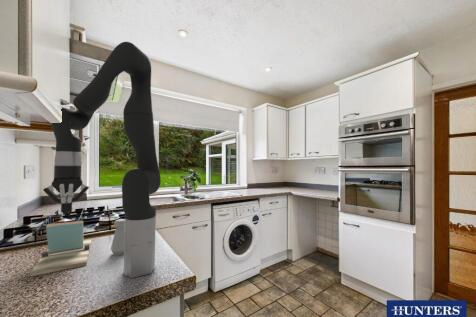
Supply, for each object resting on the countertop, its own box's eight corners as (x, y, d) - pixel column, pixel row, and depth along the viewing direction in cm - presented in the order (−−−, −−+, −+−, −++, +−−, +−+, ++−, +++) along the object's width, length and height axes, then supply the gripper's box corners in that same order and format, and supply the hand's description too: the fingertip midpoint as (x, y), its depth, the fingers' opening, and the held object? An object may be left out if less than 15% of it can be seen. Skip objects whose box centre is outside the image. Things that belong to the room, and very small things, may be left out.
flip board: (86, 265, 70) (86, 256, 70) (29, 276, 63) (30, 267, 63) (91, 241, 92) (92, 235, 92) (50, 247, 85) (50, 240, 85)
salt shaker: (120, 257, 76) (121, 222, 77) (107, 255, 77) (108, 221, 78) (131, 251, 82) (132, 218, 82) (118, 249, 83) (119, 217, 84)
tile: (83, 247, 81) (83, 249, 80) (49, 252, 75) (48, 255, 74) (83, 220, 76) (82, 222, 75) (46, 224, 71) (46, 227, 70)
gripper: (40, 164, 67) (37, 218, 66) (89, 164, 74) (88, 213, 73) (46, 164, 73) (44, 213, 72) (91, 164, 80) (90, 209, 79)
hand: (66, 213), depth 73 cm, fingers closed
